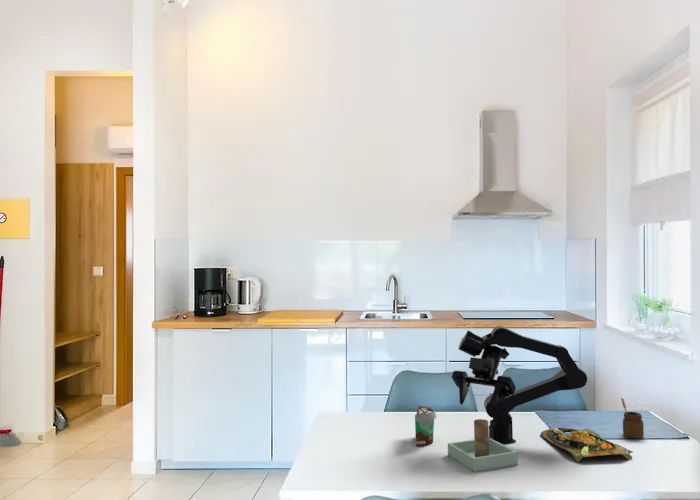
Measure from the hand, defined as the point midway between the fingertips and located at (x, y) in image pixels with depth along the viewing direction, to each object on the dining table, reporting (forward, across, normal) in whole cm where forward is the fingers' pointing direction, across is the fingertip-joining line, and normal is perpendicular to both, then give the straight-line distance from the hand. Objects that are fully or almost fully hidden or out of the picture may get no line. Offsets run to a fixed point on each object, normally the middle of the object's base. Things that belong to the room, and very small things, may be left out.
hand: (475, 406), depth 164 cm
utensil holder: (-20, +35, +39) cm, 56 cm away
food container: (+10, -16, +10) cm, 22 cm away
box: (+13, +4, +6) cm, 15 cm away
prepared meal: (-6, +24, +27) cm, 36 cm away
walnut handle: (+13, +4, +6) cm, 15 cm away
